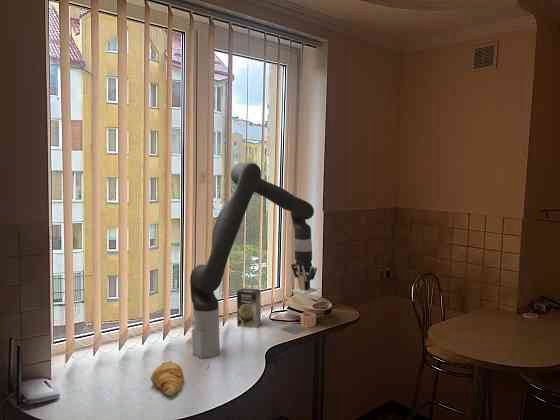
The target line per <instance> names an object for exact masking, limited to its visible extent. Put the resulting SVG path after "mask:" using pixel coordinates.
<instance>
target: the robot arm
mask: <svg viewBox="0 0 560 420" xmlns="http://www.w3.org/2000/svg"><path fill="white" fill-rule="evenodd" d="M230 178H231V180H232V182H233V183H234V184H235V185H236V187H235V190H234V192H233V194H232V195H231V197H230V198H229V200H228V201H227V202H226V204H225V205H223V207H222V208H221V210H220V211H219V214H218V216H217V218H216V220H215V223H214V225H213V229H212V234H211V250H210V255H209V257H208V260H207V262H206V264H198V265H196V266H195V267H193V269H192V270H191V273H190V276H189V277H190V278H189V283H190V285H189V287H190V298H191V302H192V304H193V328H192V330H191V338H192V354H193V355H194V356H197V357H198V358H200V359H204V358H212V357H216V356H217V355H219V354H220V352H221V349H220V348H221V347H220V345H221V344H220V341H221V340H220V316H219V315H220V308H219V305H220V304H219V300H218V298H217V297H216V294H215V291H217V290H218V289H219V287H220V285H221V283H222V281H223V277H224V274H225V269H226V266H227V263H228V259H229V257H230V254H231V251H232V248H233V246H234V243H235V240H236V238H237V237H238V236H237V235H238V233H239V230H240V229H241V225H242V222H243V219H244V217H245V214H246V212H247V209H248V206H249V204H250V201H251V199H252V197H253V195H254V193H255V194H258V195H259V196H261V197H264V199H266V200H268V201H270V202H272V203H273V204H275V205H277V206H278V207H279V208H281V209H283V210H285V211H289V212H290V217H291V222H292V226H293V228H294V242H293V243H294V245H293V246H294V247H293V248H294V260H295V263H292V264H290V265H291V269H292V272H293V275H294V278H297V280H298V281H299V276H301V275H303V276H304V277H305V289H306V290H308V289H309V288H311V281H313V280H314V279H315V277H316V273H317V271H318V269H317V267H314V266H313V263H312V260H313V241H312V228H311V226H310V225H309V223H307V222H306V220H310V219H311V218H312V217H313V216H314V214H315V209H314V207H313V205H312V204H311V203H310V202H308V201H306V200H304V199H302V198H299V197H297V196H295V195H294V194H293V193H290V192H289V191H287V190H286V189H285V188H283V187H281V186H280V185H279V186H278V185H276V184H273V183H272V182H270V181H266V180H264V179H262V170H261V168H260V166H259V165H258V164H257V163H255V162H241V163H238V164H235V165H234V166H233V167H232V168H231V170H230ZM307 275H308V278H307Z"/></svg>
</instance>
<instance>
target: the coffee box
mask: <svg viewBox="0 0 560 420" xmlns="http://www.w3.org/2000/svg"><path fill="white" fill-rule="evenodd" d="M261 295H262V294H261V289H258V288H257V289H256V288H255V289H254V288H246V287H245V288H244V287H243V288H239V290H237V291H236V310H237V311H236V314H237V315H236V317H237V319H236V320H237V327H241V328H252V329H257V328H258V327H259V326H260V325H261V324H262V323H261V317H262V316H261V315H262V314H261V313H262V312H261V302H262V301H261V298H262V297H261Z"/></svg>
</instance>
